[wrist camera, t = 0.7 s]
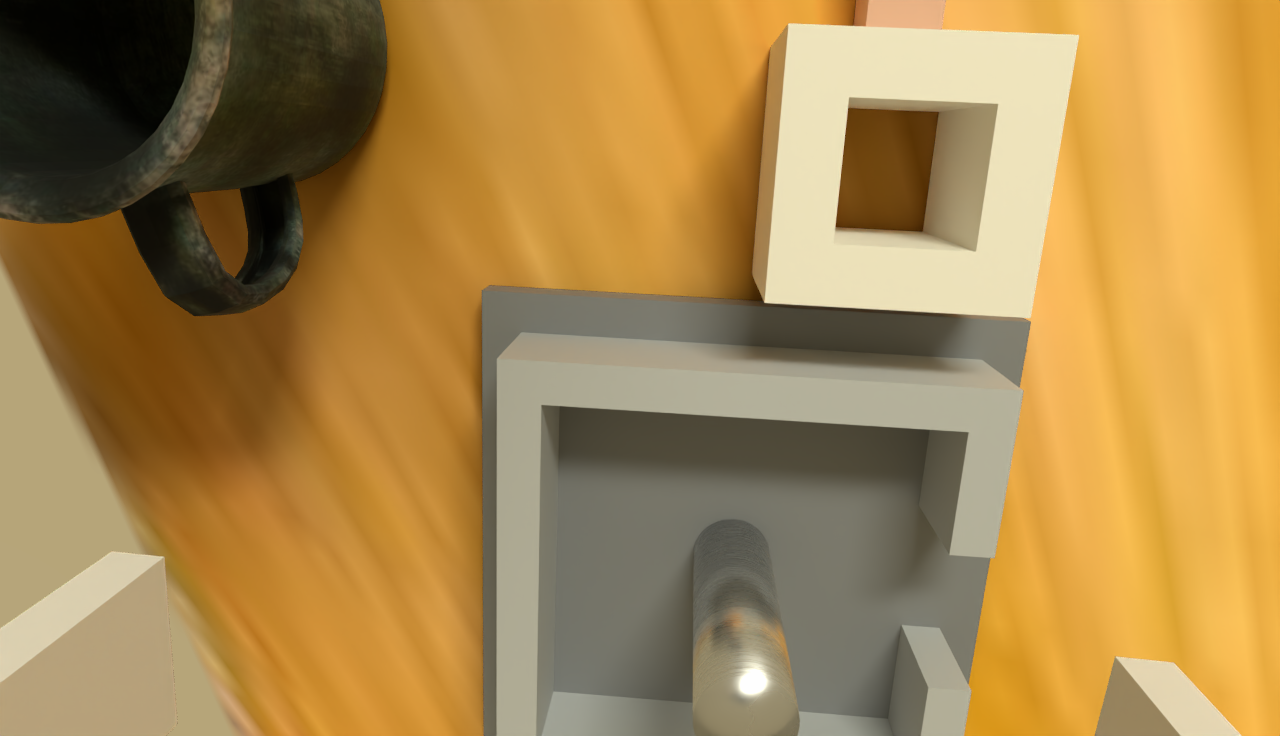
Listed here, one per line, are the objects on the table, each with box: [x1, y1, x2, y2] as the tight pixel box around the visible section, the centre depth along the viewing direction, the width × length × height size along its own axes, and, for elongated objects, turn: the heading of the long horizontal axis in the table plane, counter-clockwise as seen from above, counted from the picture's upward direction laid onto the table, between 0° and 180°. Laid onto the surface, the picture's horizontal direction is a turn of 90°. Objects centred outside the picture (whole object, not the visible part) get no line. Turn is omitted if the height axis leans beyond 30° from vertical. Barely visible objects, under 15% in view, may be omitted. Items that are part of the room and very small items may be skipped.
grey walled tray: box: [482, 285, 1031, 736], centre depth 32 cm, size 20×20×5 cm
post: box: [693, 519, 800, 736], centre depth 28 cm, size 3×3×10 cm
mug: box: [0, 0, 387, 316], centre depth 25 cm, size 11×15×12 cm
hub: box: [752, 0, 1079, 318], centre depth 26 cm, size 13×8×6 cm, turn 177°
